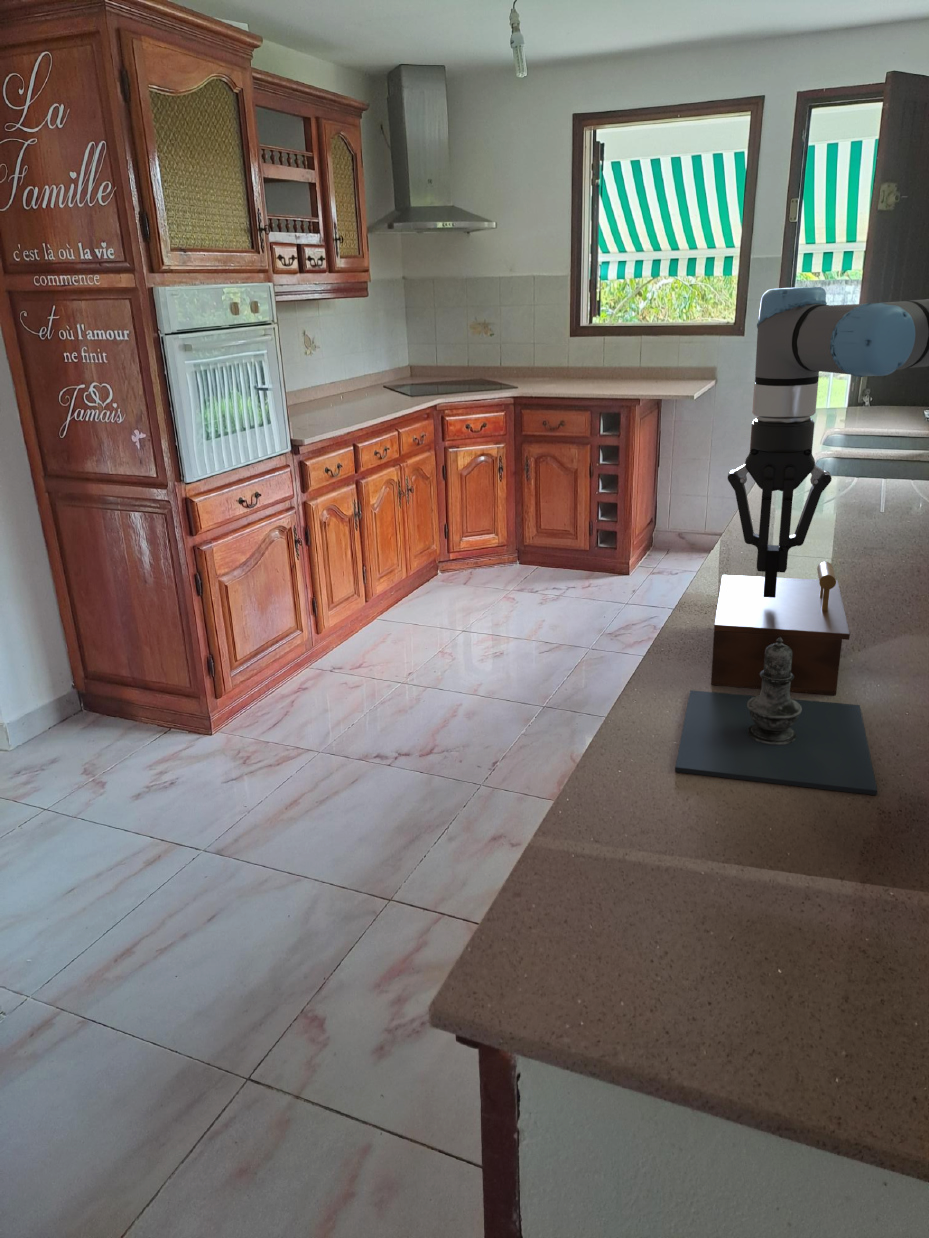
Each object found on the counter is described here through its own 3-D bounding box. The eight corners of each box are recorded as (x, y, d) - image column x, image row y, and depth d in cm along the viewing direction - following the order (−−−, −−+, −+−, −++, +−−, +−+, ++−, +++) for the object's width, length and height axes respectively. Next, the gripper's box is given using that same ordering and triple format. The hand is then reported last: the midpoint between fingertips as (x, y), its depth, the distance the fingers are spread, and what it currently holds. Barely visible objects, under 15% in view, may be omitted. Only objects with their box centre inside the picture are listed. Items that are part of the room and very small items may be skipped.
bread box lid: (837, 585, 126) (841, 547, 124) (849, 639, 108) (854, 595, 106) (721, 579, 131) (724, 542, 129) (713, 630, 112) (716, 587, 110)
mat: (859, 709, 107) (859, 704, 107) (876, 795, 89) (877, 790, 89) (689, 694, 113) (690, 689, 113) (675, 772, 95) (675, 767, 95)
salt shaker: (749, 718, 105) (756, 624, 100) (802, 727, 102) (811, 630, 98) (740, 741, 100) (747, 643, 95) (795, 750, 97) (805, 650, 93)
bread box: (826, 634, 129) (831, 585, 127) (835, 695, 111) (842, 639, 108) (719, 627, 134) (722, 580, 131) (710, 684, 115) (713, 630, 113)
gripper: (836, 413, 112) (819, 588, 121) (730, 413, 116) (720, 583, 125) (841, 421, 106) (822, 606, 114) (728, 422, 110) (718, 600, 118)
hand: (769, 593), depth 119 cm, fingers closed
